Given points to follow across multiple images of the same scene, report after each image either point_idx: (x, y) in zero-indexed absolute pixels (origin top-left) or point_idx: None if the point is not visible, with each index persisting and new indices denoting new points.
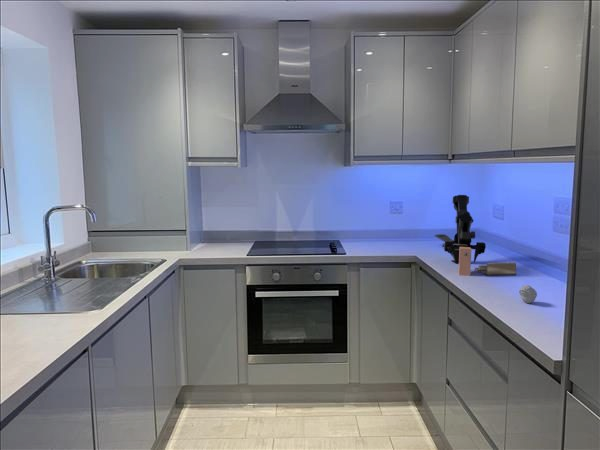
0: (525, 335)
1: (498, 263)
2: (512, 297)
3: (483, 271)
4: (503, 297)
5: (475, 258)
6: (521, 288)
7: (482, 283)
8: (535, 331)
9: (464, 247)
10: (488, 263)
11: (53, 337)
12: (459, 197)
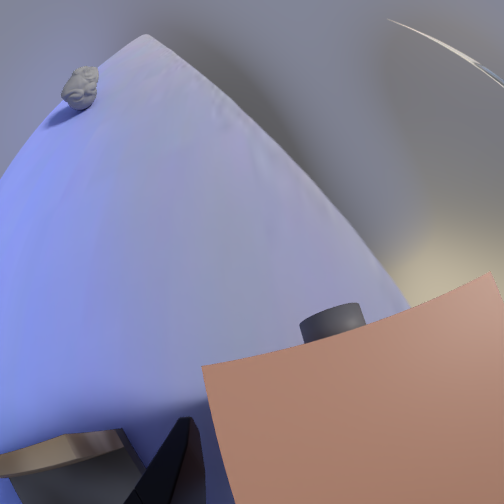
0: (153, 39)
1: (10, 452)
2: (102, 117)
3: None
4: (126, 106)
5: (170, 442)
6: (92, 71)
7: (159, 214)
8: (137, 47)
9: (455, 500)
10: (64, 442)
11: (437, 41)
12: None
